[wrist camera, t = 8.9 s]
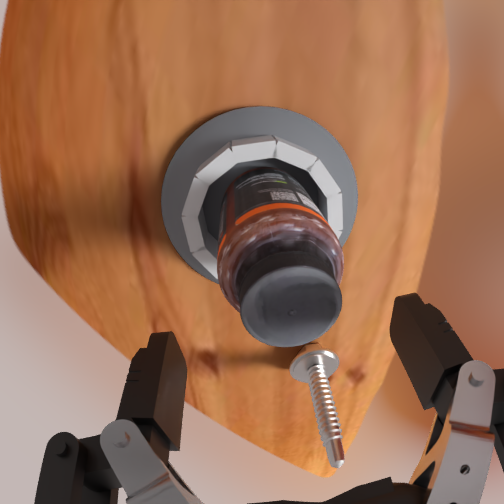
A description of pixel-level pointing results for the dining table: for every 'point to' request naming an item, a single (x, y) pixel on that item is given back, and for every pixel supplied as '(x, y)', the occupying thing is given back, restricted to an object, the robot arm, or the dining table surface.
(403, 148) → the dining table surface
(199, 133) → the bottle coaster
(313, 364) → the screw
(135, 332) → the dining table surface
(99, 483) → the robot arm
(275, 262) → the supplement bottle
